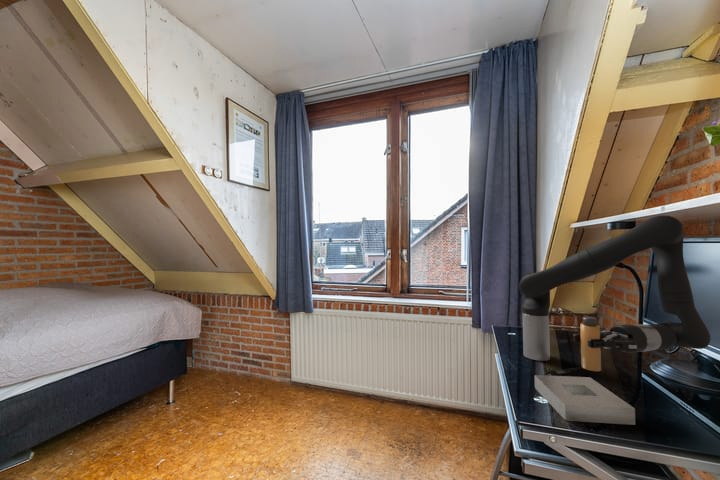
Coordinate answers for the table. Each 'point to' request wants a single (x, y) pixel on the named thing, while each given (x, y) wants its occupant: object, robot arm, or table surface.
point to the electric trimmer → (568, 372)
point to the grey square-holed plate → (584, 400)
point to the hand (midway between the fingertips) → (581, 341)
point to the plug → (588, 355)
